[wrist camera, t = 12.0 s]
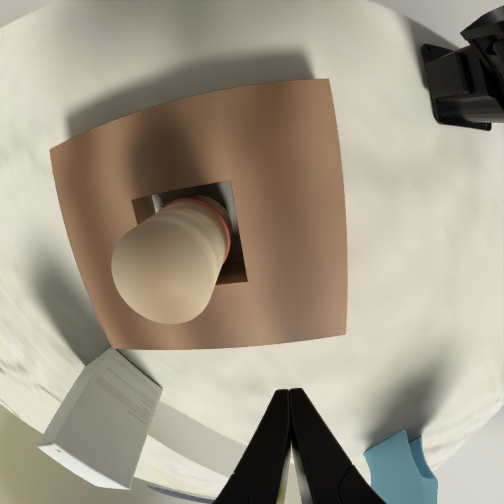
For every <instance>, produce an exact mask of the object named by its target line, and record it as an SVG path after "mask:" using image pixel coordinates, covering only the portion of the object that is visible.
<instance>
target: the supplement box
mask: <svg viewBox="0 0 504 504" xmlns="http://www.w3.org/2000/svg"><path fill="white" fill-rule="evenodd" d="M162 390H163V389H162V388H160V387H159V386H158V385H157V384H155V383H154V382H153V381H151V380H150V379H149V378H148V377H146V376H145V375H144V374H143V373H142V372H140V371H139V370H138V369H137V368H136V367H134V366H133V365H132V364H131V363H130V362H129V361H128V360H127V359H125V358H124V357H123V356H122V355H121V354H120V353H119V352H118V351H117V350H116V349H113V348H112V346H111V347H110V348H109V349H107V350H106V351H105V352H104V353H102V354H101V355H100V356H98V357H97V358H96V359H95V360H93V361H92V362H91V363H89V364H88V365H87V366H86V367H84V369H83V371H82V372H81V374H80V375H79V377H78V378H77V380H76V382H75V383H74V385H73V386H72V388H71V389H70V391H69V393H68V394H67V396H66V397H65V399H64V401H63V402H62V404H61V405H60V407H59V409H58V410H57V412H56V414H55V415H54V417H53V419H52V420H51V422H50V424H49V426H48V427H47V429H46V431H45V433H44V435H43V437H42V439H41V440H40V442H39V444H38V448H40V449H41V450H42V451H44V452H45V453H46V454H48V455H49V456H50V457H52V458H53V459H54V460H56V461H57V462H59V463H60V464H62V465H63V466H65V467H66V468H68V469H69V470H71V471H72V472H74V473H75V474H77V475H78V476H80V477H82V478H83V479H85V480H87V481H88V482H90V483H92V484H94V485H95V486H99V487H106V488H115V489H128V490H129V489H130V488H131V484H132V480H133V477H134V473H135V470H136V467H137V464H138V461H139V458H140V455H141V452H142V449H143V446H144V443H145V440H146V437H147V434H148V431H149V428H150V425H151V422H152V419H153V417H154V414H155V411H156V408H157V405H158V402H159V399H160V396H161V393H162Z"/></svg>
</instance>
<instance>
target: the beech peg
mask: <svg viewBox="0 0 504 504" xmlns="http://www.w3.org/2000/svg"><path fill="white" fill-rule="evenodd" d="M231 238H232V223H231V220H230V217H229V215H228V213H227V211H226V210H225V209H224V207H223V206H222V205H221V204H219V203H218V202H217V201H215V200H214V199H212V198H210V197H207V196H204V195H188V196H185V197H182V198H180V199H177V200H175V201H172V202H170V203H169V204H167V205H165V206H164V207H163V208H161V209H160V210H159V211H158V212H157V213H156V214H154V215H153V216H151V217H150V218H148V219H147V220H145V221H143V222H142V223H140V224H139V225H137V226H136V227H134V228H133V229H131V230H130V231H128V232H127V233H126V234H125V235H123V236H122V238H121V239H120V240H119V241H118V243H117V245H116V246H115V249H114V251H113V255H112V262H111V270H112V276H113V280H114V283H115V285H116V288H117V290H118V292H119V294H120V295H121V297H122V298H123V299H124V301H125V302H126V303H127V304H128V305H129V306H130V307H131V308H132V309H133V310H134V311H136V312H137V313H138V314H140V315H141V316H143V317H145V318H147V319H149V320H152V321H154V322H158V323H163V324H180V323H184V322H187V321H190V320H192V319H194V318H195V317H197V316H198V315H199V314H200V313H201V312H202V311H203V310H204V309H205V308H206V306H207V304H208V302H209V300H210V298H211V295H212V292H213V289H214V286H215V284H216V281H217V278H218V275H219V272H220V270H221V267H222V265H223V263H224V262H225V260H226V258H227V255H228V252H229V249H230V243H231Z"/></svg>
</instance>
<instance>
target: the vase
mask: <svg viewBox="0 0 504 504" xmlns="http://www.w3.org/2000/svg"><path fill="white" fill-rule="evenodd" d="M363 455H364V457H365V459H366V461H367V463H368V466H369V469H370V473H371V488H372V489H373V490H374V491H375V492H376V493H377V494H378V495H379V496H380V497H381V498H382V499H383V500H384V501H385V502H386V503H387V504H437V489H438V481H437V479H436V477H435V476H434V474H433V473H432V471H431V470H430V468H429V466H428V465H427V462H426V460H425V457H424V454H423V447H422V437H419V438H417V439H416V440H414V441H413V442H411V443H409V442H408V437H407V432H406V430H405V429H403V430H402V431H400V432H398V433H397V434H395V435H394V436H392V437H390V438H388V439H387V440H385V441H383V442H382V443H380V444H378V445H376V446H374V447H372V448H371V449H369V450H367V451H366V452H364V454H363Z"/></svg>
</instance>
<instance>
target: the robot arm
mask: <svg viewBox="0 0 504 504" xmlns="http://www.w3.org/2000/svg"><path fill="white" fill-rule="evenodd" d="M460 34H461V35H462V36H463V38H464V39H465V40H467V41H468V42H469V44H470V45H469V46H466V47H464V48H461V49H458V50H456V51H452V50H449V49H445V48H442V47H438V46H434V45H430V44H424V45H422V46H421V52H422V55H423V59H424V63H425V68H426V72H427V77H428V81H429V86H430V91H431V95H432V101H433V107H434V113H435V119H436V121H437V122H438V123H439V124H441V125H450V126H458V127H466V128H472V129H479V130H484V131H490V130H491V128H492V125H491V123H504V6H501V7H499V8H497V9H495V10H492V11H490V12H488V13H486V14H484V15H482V16H481V17H480V18H478V19H477V20H476V21H475V22H473V23H472V24H471V25H470V26H468V27H467V28H466V29H464V30H463V31H462V32H461V33H460ZM426 48H427V49H428V51H429V52H428V51H427V50H426ZM440 116H442V118H443V119H442V120H441V118H440ZM486 124H487V125H486ZM291 444H292V452H293V458H294V463H295V469H296V474H297V479H298V485H299V490H300V495H301V501H302V504H387V503H386V502H385V501H384V500H383V499H382V498H381V497H380V496H379V495H378V494H377V493H376V492H375V491H374V490H373V489H372V488H371V487H370V486H369V484H368V483H367V482H366V481H365V479H364V478H363V477H362V476H361V474H360V473H359V472H358V470H357V469H356V467H355V466H354V465H352V462H351V460H350V459H349V457H348V456H347V454H346V453H345V452H344V450H343V449H342V447H341V446H340V444H339V443H338V441H337V440H336V438H335V437H334V435H333V434H332V432H331V431H330V429H329V428H328V426H327V425H326V424H325V422H324V421H323V419H322V417H321V416H320V414H319V413H318V411H317V410H316V408H315V407H314V405H313V404H312V402H311V401H310V399H309V398H308V396H307V395H306V393H305V392H304V390H303V389H302V388H293V389H290V390H288V389H279V390H276V391H275V393H274V395H273V397H272V399H271V401H270V403H269V405H268V407H267V410H266V412H265V414H264V416H263V418H262V420H261V422H260V424H259V426H258V428H257V429H256V431H255V433H254V435H253V437H252V439H251V441H250V443H249V445H248V447H247V448H246V450H245V452H244V454H243V456H242V458H241V459H240V461H239V463H238V465H237V467H236V468H235V470H234V474H232V475H231V477H230V478H229V480H228V482H227V483H226V485H225V486H224V488H223V489H222V491H221V493H220V494H219V495H218V497H217V498H216V499H215V501H214V502H213V503H212V504H284V500H285V493H286V485H287V479H288V471H289V463H290V455H291Z"/></svg>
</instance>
